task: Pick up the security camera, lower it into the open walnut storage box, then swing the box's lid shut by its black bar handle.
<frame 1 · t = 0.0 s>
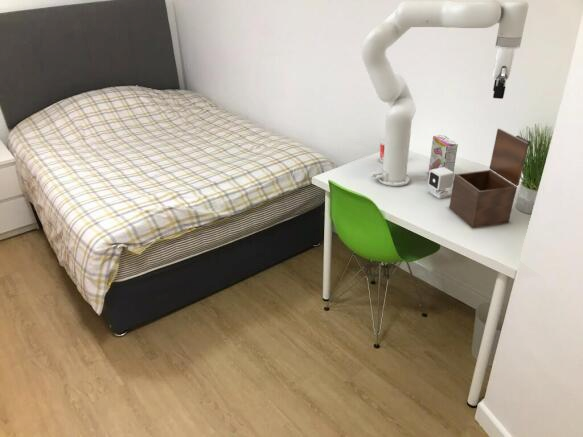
hand: (497, 94, 161), 37 cm above the table, tool pointing down, fingers open, 9 cm apart
candy bar box: (439, 178, 191), on the table
lid: (514, 155, 154), point 21 cm above the table, hinge at 90.0°
security camera: (438, 195, 177), on the table
storage box: (477, 215, 163), on the table
beverage cup: (385, 161, 207), on the table
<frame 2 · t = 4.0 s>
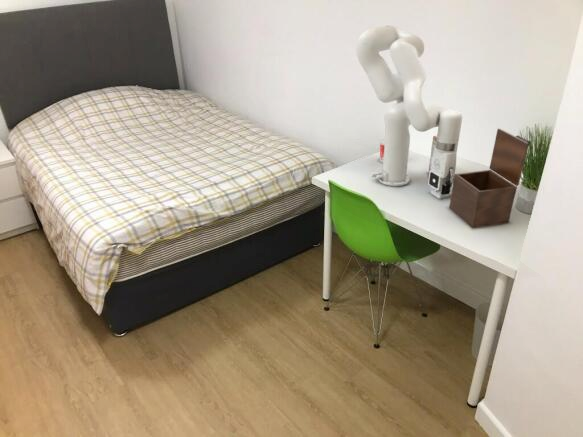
hand: (439, 189, 176), 2 cm above the table, tool pointing down, fingers closed on security camera, 7 cm apart
security camera: (439, 195, 177), on the table, touching gripper
everything else where it was.
when the fingers open (10 cm above the table, at t = 10.7 s): security camera drops 7 cm, resting on storage box.
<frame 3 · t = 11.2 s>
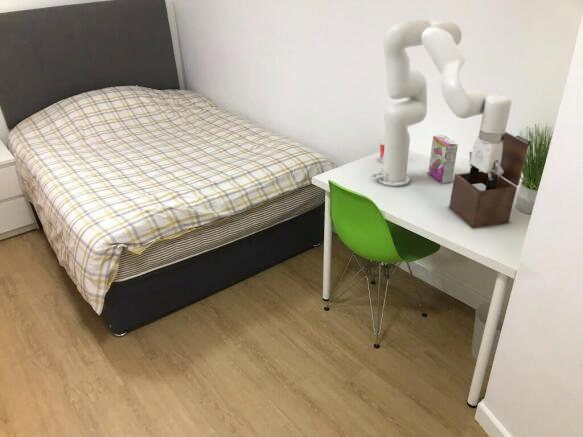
hand: (481, 184, 157), 12 cm above the table, tool pointing down, fingers open, 9 cm apart
security camera: (473, 213, 162), point 1 cm above the table, touching storage box
everything else where it was.
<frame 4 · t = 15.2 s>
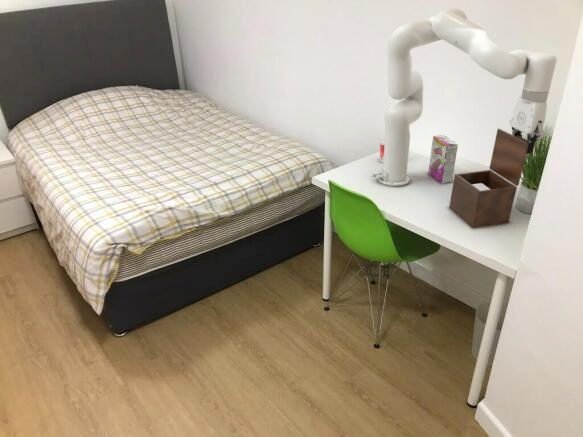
hand: (521, 149, 154), 23 cm above the table, tool pointing down, fingers closed on lid, 5 cm apart
lid: (514, 155, 154), point 21 cm above the table, hinge at 90.0°, touching gripper
everything else where it was.
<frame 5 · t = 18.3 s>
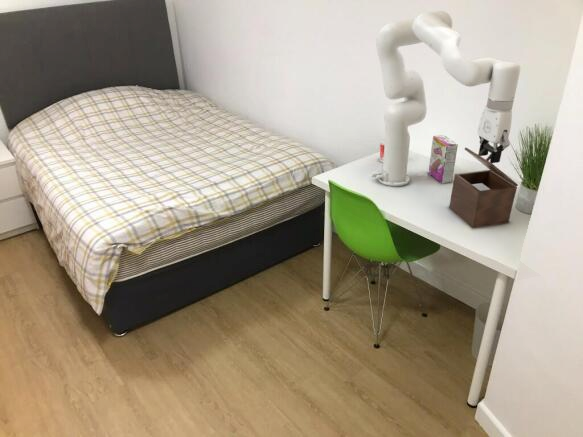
hand: (488, 158, 152), 21 cm above the table, tool pointing down, fingers closed on lid, 5 cm apart
lid: (495, 160, 153), point 20 cm above the table, hinge at 37.5°, touching gripper
everything else where it was.
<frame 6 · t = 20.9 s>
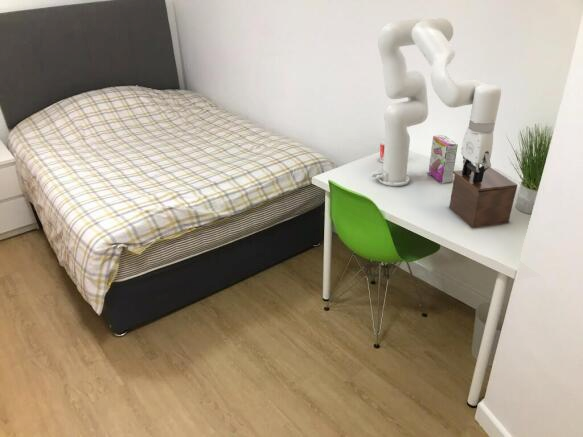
hand: (471, 178, 154), 15 cm above the table, tool pointing down, fingers closed on lid, 5 cm apart
lid: (485, 172, 155), point 16 cm above the table, hinge at 1.5°, touching gripper
everything else where it was.
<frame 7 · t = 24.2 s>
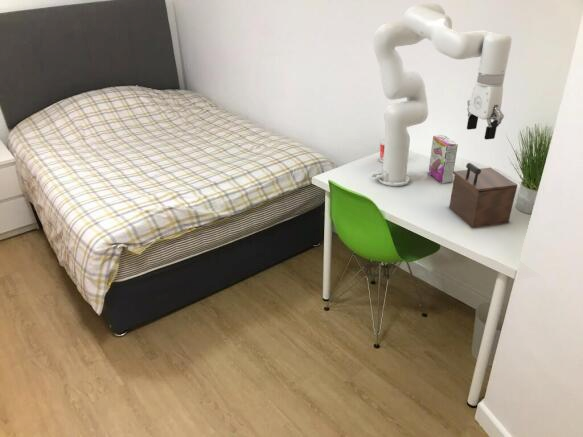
hand: (480, 133, 147), 30 cm above the table, tool pointing down, fingers open, 9 cm apart
lid: (485, 172, 155), point 16 cm above the table, hinge at 1.3°
everything else where it was.
at the end: security camera inside the target area in the storage box (1.5 cm from its centre), point 0.7 cm above the storage box's base; lid at +1° (first picture: +90°) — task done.
